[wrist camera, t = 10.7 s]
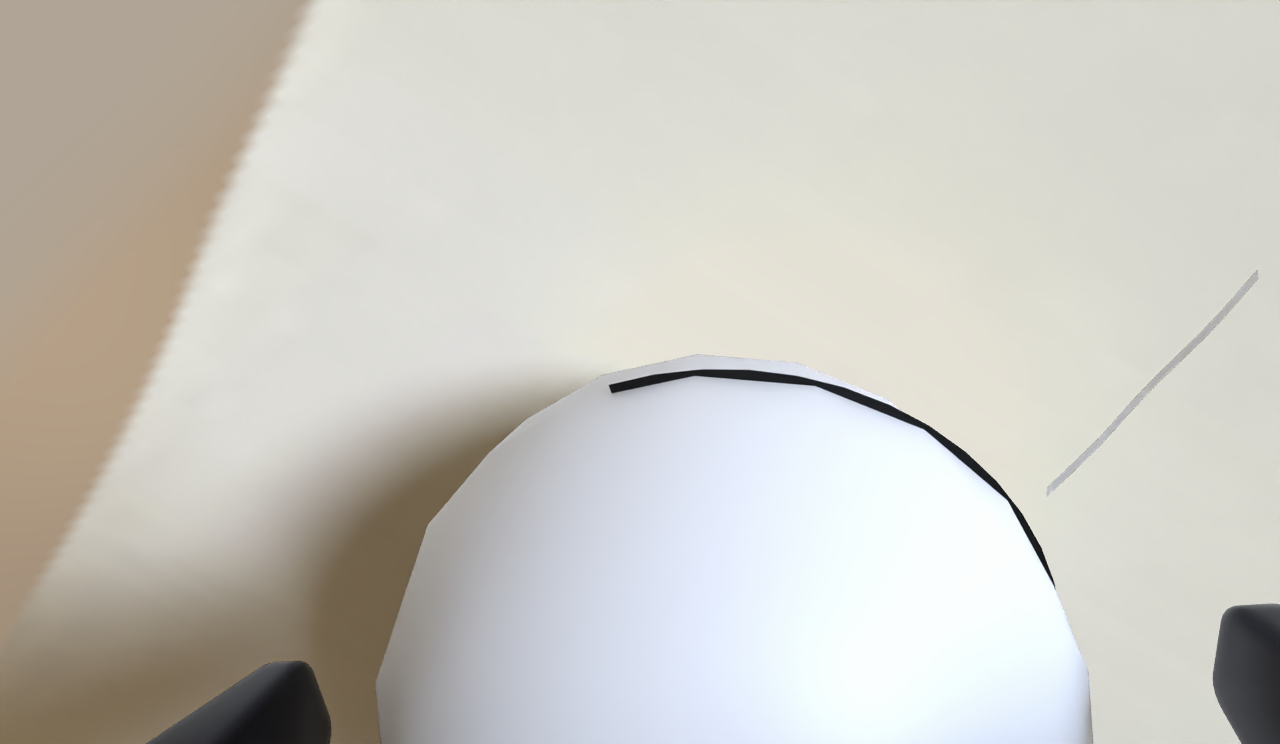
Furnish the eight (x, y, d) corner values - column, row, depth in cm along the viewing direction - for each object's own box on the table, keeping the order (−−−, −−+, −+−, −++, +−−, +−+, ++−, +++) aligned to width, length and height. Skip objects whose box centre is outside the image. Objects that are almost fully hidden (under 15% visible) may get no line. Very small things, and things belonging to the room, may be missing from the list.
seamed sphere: (669, 753, 14) (634, 1411, 7) (395, 456, 12) (-15, 945, 5) (1216, 479, 11) (2055, 1124, 4) (964, 42, 9) (1699, -82, 2)
